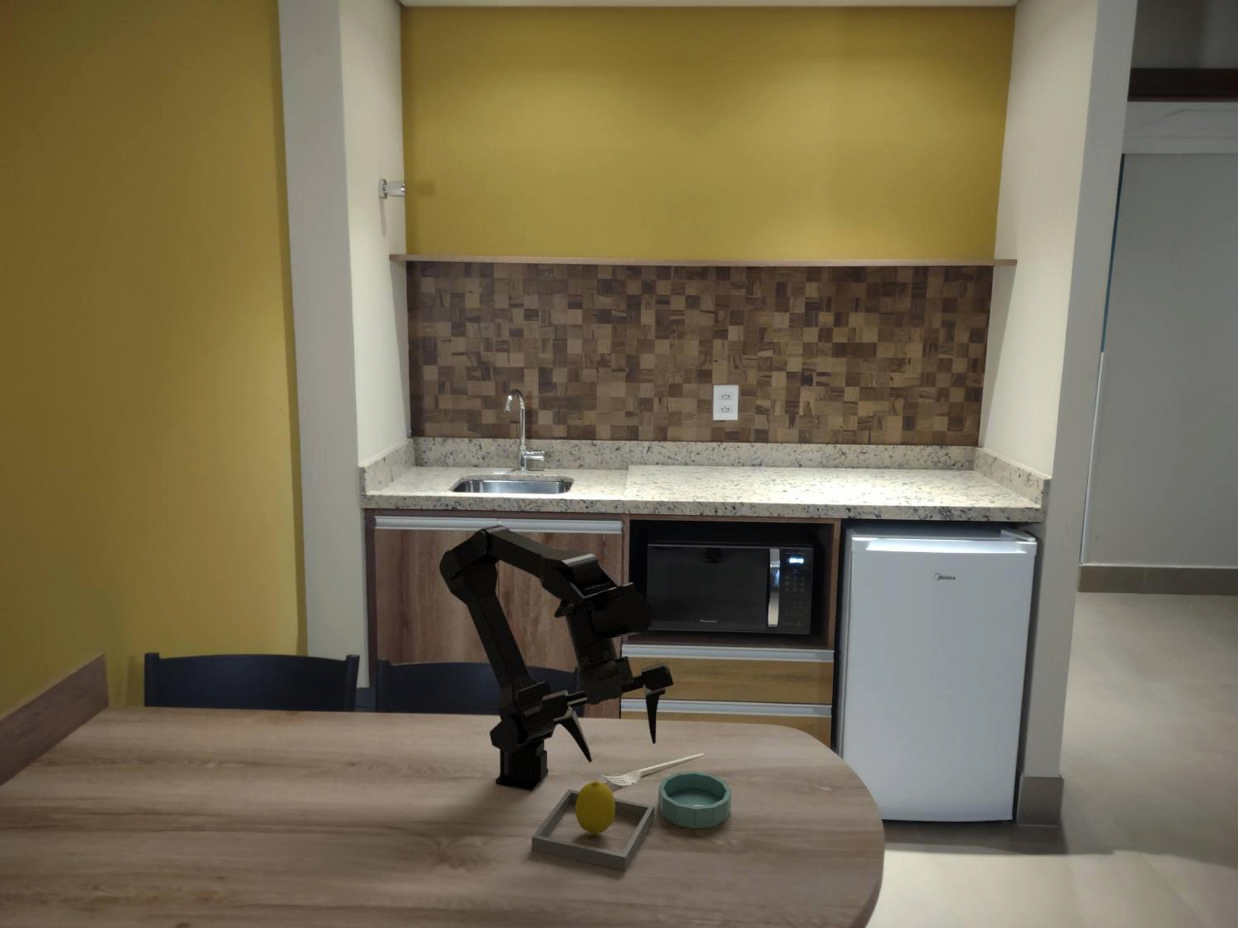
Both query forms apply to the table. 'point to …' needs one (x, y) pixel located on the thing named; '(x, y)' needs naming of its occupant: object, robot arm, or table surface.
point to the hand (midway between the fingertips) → (622, 752)
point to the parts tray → (586, 852)
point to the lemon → (595, 807)
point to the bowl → (694, 799)
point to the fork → (646, 772)
